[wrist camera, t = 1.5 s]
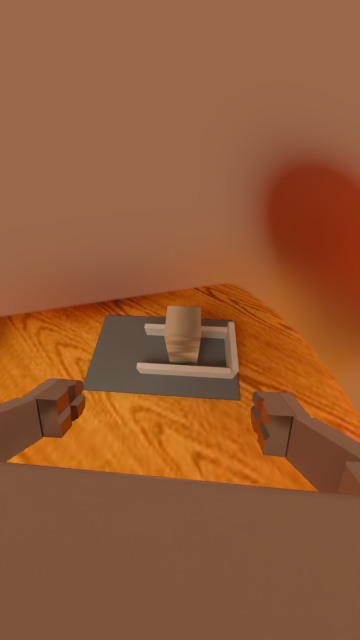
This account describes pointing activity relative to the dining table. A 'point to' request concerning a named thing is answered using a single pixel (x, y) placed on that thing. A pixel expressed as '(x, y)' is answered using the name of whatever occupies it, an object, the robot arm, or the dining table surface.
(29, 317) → the dining table surface
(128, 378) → the shelf lane
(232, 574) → the robot arm
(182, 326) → the beech block
